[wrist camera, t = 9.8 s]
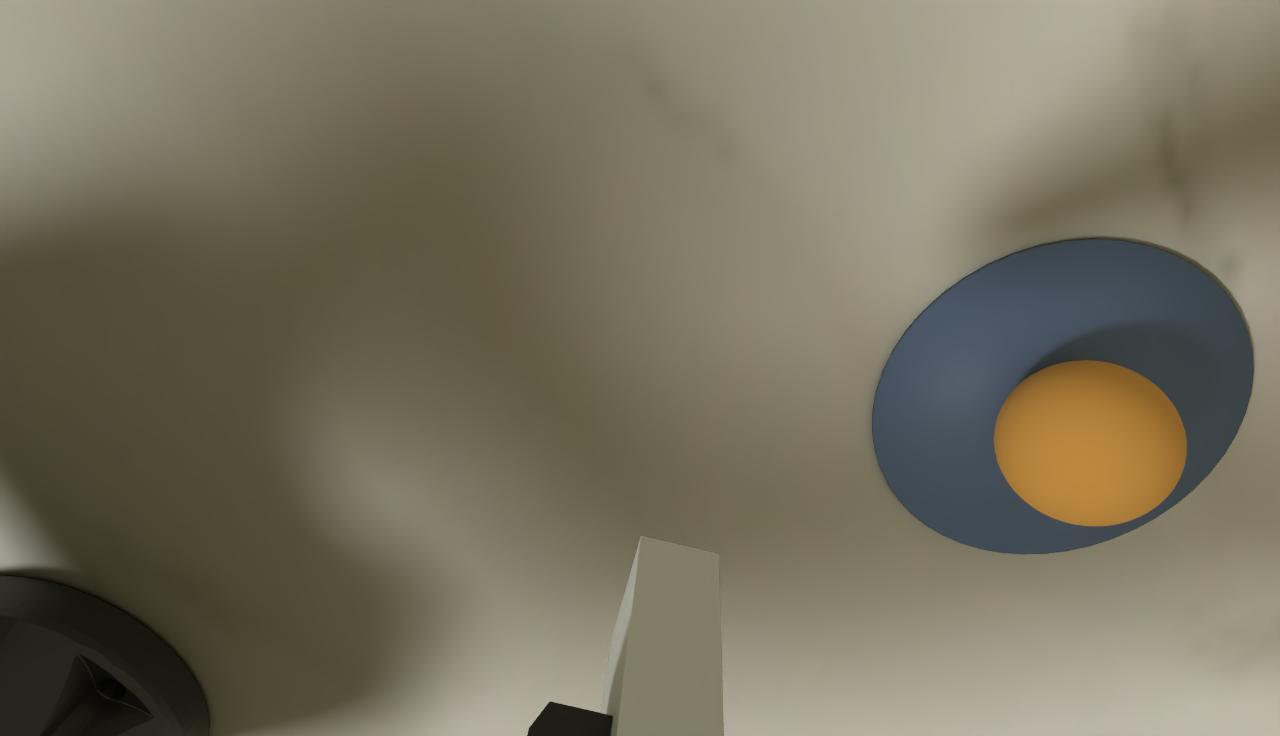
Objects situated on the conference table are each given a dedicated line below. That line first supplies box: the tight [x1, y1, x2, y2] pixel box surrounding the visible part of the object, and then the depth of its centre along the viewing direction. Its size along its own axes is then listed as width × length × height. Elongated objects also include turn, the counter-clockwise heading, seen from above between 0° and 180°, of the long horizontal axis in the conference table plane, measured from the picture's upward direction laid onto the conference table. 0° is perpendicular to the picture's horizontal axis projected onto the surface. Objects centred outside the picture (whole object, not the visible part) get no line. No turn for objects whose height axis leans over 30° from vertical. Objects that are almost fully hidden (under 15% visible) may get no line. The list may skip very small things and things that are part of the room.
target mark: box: [872, 239, 1253, 554], centre depth 27 cm, size 13×13×1 cm
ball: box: [994, 360, 1187, 526], centre depth 25 cm, size 6×6×6 cm
